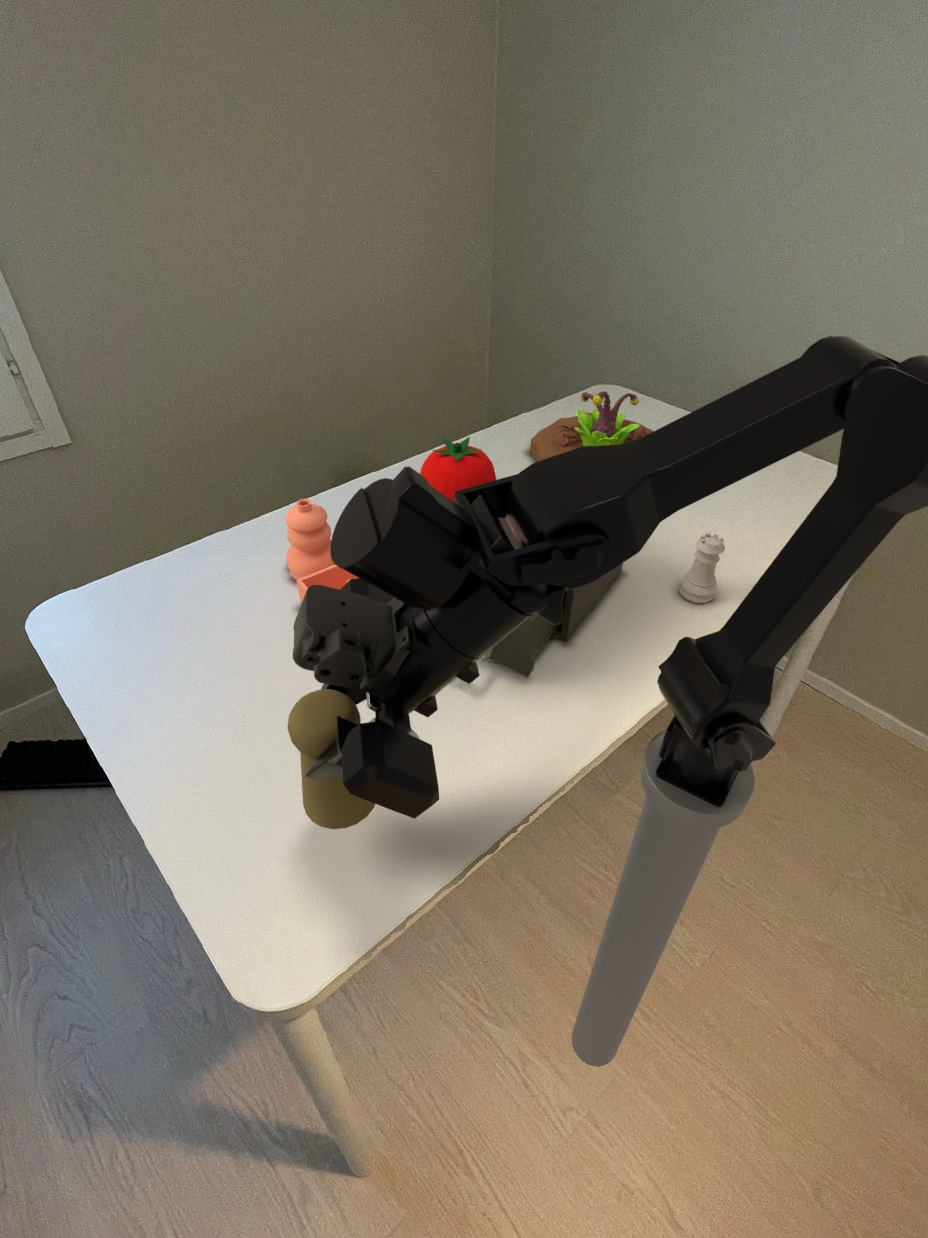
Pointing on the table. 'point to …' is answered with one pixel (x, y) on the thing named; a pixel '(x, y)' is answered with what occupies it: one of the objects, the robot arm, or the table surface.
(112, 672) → the table surface
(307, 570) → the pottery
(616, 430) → the plant
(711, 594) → the rook chess piece
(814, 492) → the table surface
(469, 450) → the tomato
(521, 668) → the dark grey drawer
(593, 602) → the dark grey drawer box
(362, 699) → the robot arm
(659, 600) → the table surface
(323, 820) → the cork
